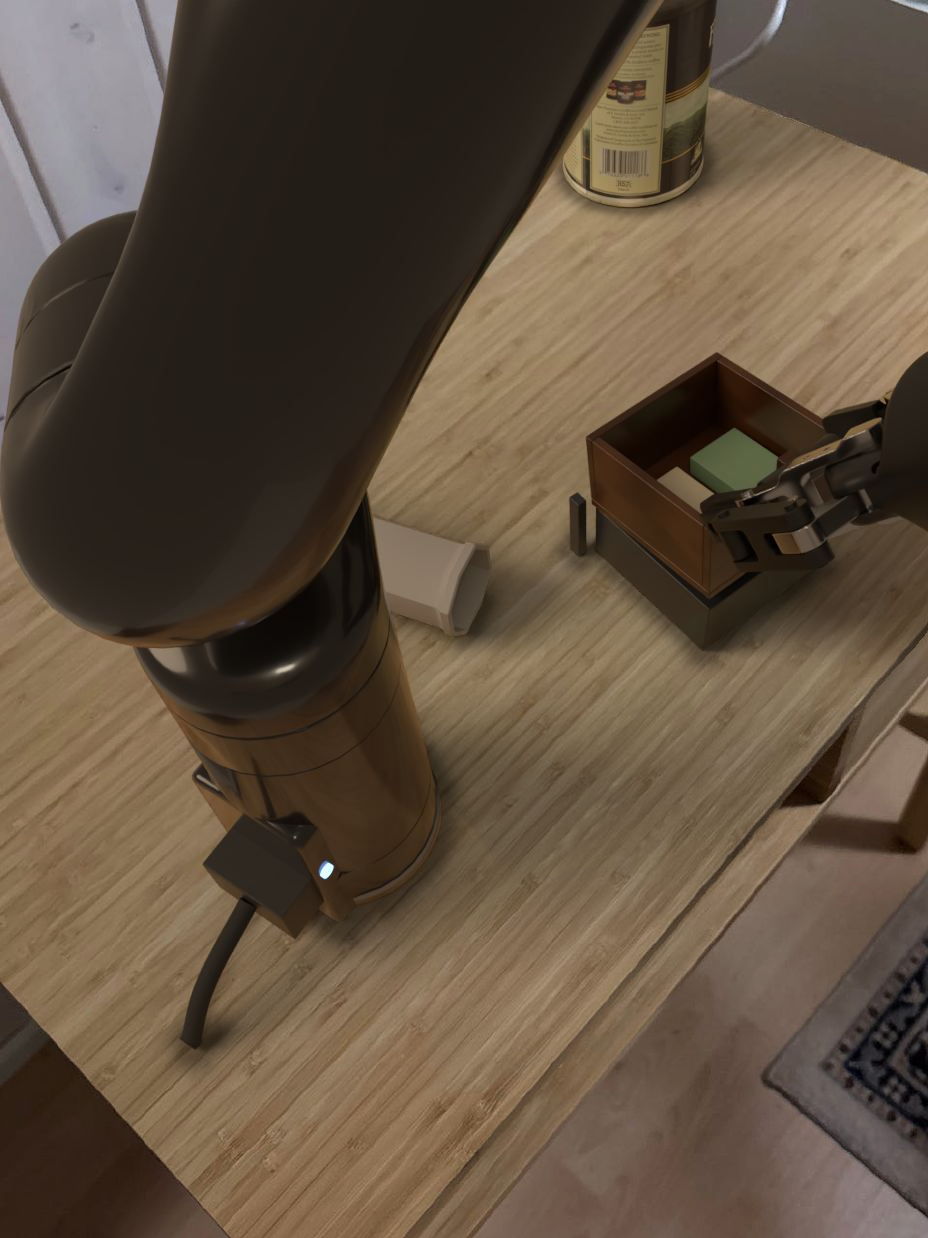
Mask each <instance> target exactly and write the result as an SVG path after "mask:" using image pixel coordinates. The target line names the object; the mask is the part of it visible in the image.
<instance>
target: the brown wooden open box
mask: <svg viewBox="0 0 928 1238" xmlns="http://www.w3.org/2000/svg"><path fill="white" fill-rule="evenodd" d="M822 420H823V417H821V416H819V415H818V414H817V413H814V411H813V412H812V411H811V410H809V409H808V408H806V407H805V406H803V405H801V404H800V403H799V402H797V401H796V400H794V399H792V398H790V397H789V396H787V395H786V394H784V393H783V392H781V391H780V390H778V389H776V388H775V387H774V386H772V385H770V384H769V383H767V382H765V381H764V380H762V379H761V378H759V377H758V376H756V375H754V373H753V374H752V373H751V372H750V371H748V370H746V369H745V368H743V367H742V366H741V365H738V364H737V363H735V362H734V361H732V360H730V359H729V358H728V357H726V356H724V355H722V354H721V353H720V352H718V351H716V352H714V353H713V354H711V355H710V356H708V357H706V358H705V359H704V360H701V361H700V362H699V363H697V364H696V365H694V366H692V367H691V368H690V369H688V370H687V371H684V372H683V373H681V374H680V375H678V376H677V377H675V378H674V379H672V380H670V381H669V382H668V383H666V384H664V385H663V386H662V387H660V388H658V389H657V390H656V391H654V392H652V393H651V394H649V395H648V396H646V397H645V398H643V399H641V400H639V401H638V402H637V403H635V404H634V405H631V406H630V407H629V408H628V409H626V410H624V411H623V412H621V413H620V414H618V415H617V416H615V417H613V418H612V419H611V420H609V421H607V422H606V423H604V424H602V425H601V426H600V427H598V428H596V429H595V430H593V431H592V432H591V433H589V434H587V435H586V436H585V444H586V455H587V456H586V457H587V467H588V479H589V489H590V501H591V505H592V506H593V507H594V508H595V509H596V508H597V509H598V510H600V511H601V512H602V513H603V514H604V515H606V516H607V517H608V518H609V519H611V520H612V521H613V522H614V523H616V524H617V525H618V526H619V527H620V528H622V529H623V530H624V531H625V532H627V533H628V534H629V535H630V536H632V537H633V538H634V539H635V540H637V541H638V542H639V543H640V544H641V545H643V546H644V547H645V548H646V549H648V550H649V551H650V552H651V553H653V554H654V555H655V556H656V557H658V558H659V559H660V560H661V561H662V562H664V563H665V564H666V565H667V566H669V567H670V568H671V569H672V570H674V571H675V572H676V573H677V574H678V575H680V576H681V577H682V578H683V579H685V580H686V581H687V582H688V583H690V584H691V585H692V586H693V587H695V588H696V589H697V590H698V591H699V592H701V593H702V594H703V595H704V596H706V597H707V598H708V599H711V598H712V597H713V596H715V595H716V594H717V593H719V592H720V591H722V590H723V589H724V588H726V587H727V586H729V585H730V584H731V583H733V582H734V581H735V580H737V579H738V578H740V577H741V576H742V575H744V574H745V573H747V572H738V571H737V569H736V568H735V566H734V564H733V560H732V558H731V556H730V554H729V552H728V551H727V549H726V547H725V545H724V543H715V542H714V541H713V539H712V537H711V535H710V534H709V532H708V530H707V528H706V526H705V524H704V523H703V521H702V519H701V517H700V514H701V513H699V512H698V511H697V510H695V509H694V508H693V507H691V506H690V505H689V504H687V503H686V502H685V501H683V500H682V499H681V498H679V497H678V496H677V495H675V494H674V493H673V492H671V491H670V490H669V489H667V488H666V487H665V486H664V485H662V484H661V483H660V482H658V481H657V479H659V478H660V477H662V476H663V475H665V474H666V473H668V472H669V471H671V470H672V469H674V468H675V467H678V468H680V469H681V470H682V471H684V472H685V473H687V474H688V475H689V476H691V477H692V478H693V479H695V480H696V481H697V482H699V483H700V484H702V485H703V486H704V487H706V488H707V489H708V490H710V491H711V492H712V493H714V494H718V493H717V492H715V491H714V490H713V489H711V488H710V487H709V486H707V485H706V484H704V483H703V482H702V481H700V480H699V479H698V478H696V477H695V476H694V475H692V474H691V473H690V457H691V456H693V455H694V454H696V453H697V452H699V451H700V450H702V449H703V448H705V447H706V446H708V445H709V444H711V443H712V442H714V441H715V440H717V439H718V438H720V437H721V436H723V435H724V434H726V433H727V432H729V431H730V430H732V429H733V428H736V429H737V430H739V431H740V432H742V433H743V434H745V435H746V436H748V437H749V438H751V439H752V440H754V441H755V442H757V443H758V444H759V445H761V446H762V447H764V448H765V449H767V450H768V451H770V452H771V453H773V454H774V455H776V456H777V457H779V458H777V465H776V470H775V471H774V472H772V473H771V474H769V475H768V476H767V477H765V478H764V479H762V480H761V481H759V482H758V484H757V486H760V485H762V484H765V483H767V482H770V481H772V480H775V479H777V478H779V475H780V473H781V472H782V471H783V469H784V468H785V467H786V466H787V464H788V463H789V462H790V461H791V460H793V459H795V458H797V457H800V456H802V455H804V454H807V453H809V452H812V451H814V450H817V449H819V448H821V447H824V446H826V445H829V444H831V443H833V442H836V441H838V440H841V438H840V437H839V436H838V435H836V434H832V433H831V434H827V433H826V431H825V430H824V428H823V425H822ZM824 470H825V467H823V468H820V469H818V470H815V471H813V472H810V473H809V474H810V477H811V479H812V481H813V483H814V485H815V487H816V489H817V491H818V493H819V495H820V497H821V498H822V500H823V502H826V501H828V500H830V499H831V498H833V497H834V496H832V494H831V492H830V489H829V487H828V484H827V482H826V479H825V476H824ZM757 486H756V487H757ZM787 500H788V498H787V497H785V496H779V497H777V498H774V499H772V500H769V503H775V502H783V501H787Z"/></svg>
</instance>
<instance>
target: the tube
mask: <svg viewBox="0 0 928 1238" xmlns="http://www.w3.org/2000/svg"><path fill="white" fill-rule="evenodd" d="M372 516H373V522H374V529H375V535H376V542H377V548H378V555H379V561H380V567H381V573H382V579H383V583H384V588H385V592H386V596H387V600H388V603H389V607H390V611H391V613H394V614H396V615H400V616H402V617H406V618H409V619H412V620H415V621H418V622H421V623H424V624H427V625H431V626H433V627H436V628H438V629H441V630H442V631H443V634H444V635H446V636H449V637H460V636H466V635H467V634H468V632H469V630H470V628H471V626H472V624H473V622H474V620H475V618H476V616H477V614H478V612H479V610H480V609H481V606H482V604H483V602H484V598H485V594H486V590H487V587H488V583H489V579H490V576H491V573H492V563H491V562H492V561H491V555H490V547H489V545H488V544H486V543H481V542H476V541H475V542H474V541H473V542H472V541H466V542H463V541H460V540H457V539H454V538H450V537H447V536H443V535H440V534H437V533H435V532H432V531H431V532H430V531H427V530H424V529H421V528H418V527H414V526H411V525H407V524H404V523H401V522H397V521H395V520H391V519H388V518H384V517H381V516H379V515H374V514H372Z"/></svg>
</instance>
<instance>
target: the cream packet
mask: <svg viewBox="0 0 928 1238" xmlns="http://www.w3.org/2000/svg"><path fill="white" fill-rule="evenodd" d="M657 481H658V482H660V483H661V484H662V485H664V486H665V487H666V488H667V489H669V490H670V491H671V492H673V493H674V494H675V495H677V496H678V497H679V498H681V499H682V500H683V501H685V502H686V503H687V504H689V505H690V506H691V507H693V508H694V509H695V510H697V511H698V512H699V513H701V514H702V512H701V509H700V503H701V502H703V501H704V500H705V499H707V498H708V497H710V496H711V495H713V494H714V493H712V492H711V491H710V490H708V489H707V488H706V487H704V486H703V485H702V484H700V483H699V482H697V481H696V480H695V479H693V478H692V477H691V476H689V475H688V474H687V473H685V472H684V471H682V470H681V469H680V468H678V467H675V468H674V469H672V470H671V471H669V472H668V473H666V474H665V475H663V476H662V477H660V478H659V479H657Z"/></svg>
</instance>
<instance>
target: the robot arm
mask: <svg viewBox="0 0 928 1238" xmlns="http://www.w3.org/2000/svg"><path fill="white" fill-rule="evenodd" d="M664 1H665V0H177V2H176V9H175V15H174V23H173V29H172V35H171V36H172V37H171V41H170V48H169V49H170V50H169V55H168V62H167V70H166V76H165V83H164V90H163V95H162V96H163V97H162V103H161V108H160V109H161V110H160V116H159V121H158V126H157V130H156V135H155V141H154V145H153V150H152V154H151V160H150V165H149V169H148V173H147V176H146V180H145V183H144V187H143V190H142V194H141V197H140V201H139V204H138V207H137V209H134V210H130V211H129V210H128V211H125V212H119V213H116V214H113V215H110V216H107V217H104V218H103V217H102V218H101V219H98V220H96V221H94V222H92V223H90V224H88V225H86V226H84V227H82V228H81V229H79V230H77V231H76V232H74V233H73V234H72V235H70V236H69V237H67V238H66V239H65V240H64V241H62V242H61V243H60V245H58V246H57V248H55V249H54V250H53V251H52V253H50V254H49V255H48V256H47V258H46V259H45V260H44V261H43V262H42V264H41V265H40V267H39V268H38V270H37V271H36V273H34V276H33V278H32V279H31V281H30V284H29V286H28V288H27V291H26V293H25V296H24V298H23V302H22V305H21V308H20V312H19V317H18V322H17V327H16V328H17V330H16V335H15V343H14V350H13V357H12V358H13V359H12V366H11V367H12V368H11V376H10V383H9V390H8V396H7V404H6V411H5V419H4V426H3V434H2V441H1V446H0V508H1V517H2V523H3V529H4V531H5V535H6V537H7V540H8V542H9V545H10V548H11V550H12V551H11V552H12V553H13V556H14V560H15V561H16V563H17V565H18V566H19V568H20V570H21V571H22V573H23V574H24V576H25V578H26V579H27V581H28V582H29V584H30V585H31V587H32V588H33V589H34V590H35V591H36V592H37V593H38V595H40V596H41V597H42V599H43V600H44V601H45V602H46V603H47V604H48V605H49V606H50V607H51V609H53V610H55V611H56V612H57V613H58V614H60V615H61V616H63V617H64V618H66V619H67V620H68V621H69V622H71V623H72V624H73V625H75V626H76V627H78V628H80V629H82V630H85V631H86V632H89V633H91V634H93V635H94V636H97V637H99V638H101V639H104V640H105V641H109V642H112V643H115V644H119V645H125V646H129V647H132V649H133V652H134V654H135V657H136V658H137V660H138V663H139V664H140V667H141V668H142V670H143V671H144V674H145V675H146V677H147V678H148V680H149V682H150V683H151V685H152V687H153V688H154V689H155V691H156V693H157V694H158V695H159V697H160V699H161V700H162V702H163V703H164V705H165V706H166V708H167V710H168V711H169V713H170V714H171V716H172V718H173V719H174V720H175V722H176V724H177V725H178V727H179V729H180V731H181V732H182V733H183V735H184V736H185V739H186V740H187V742H188V743H189V745H190V746H191V748H192V750H193V751H194V752H195V754H196V756H197V758H199V760H200V763H199V765H198V766H197V767H196V769H194V771H193V772H192V774H191V781H192V783H194V785H195V786H196V788H197V789H198V791H199V792H200V795H202V797H203V798H204V800H205V802H206V803H207V804H208V806H209V807H210V809H211V811H212V812H213V814H214V815H215V816H216V818H217V820H218V821H219V822H220V824H221V826H222V827H223V828H224V830H225V831H226V834H225V835H224V836H223V837H222V839H221V840H220V841H219V843H218V844H217V845H215V847H214V849H212V850H211V852H210V854H208V856H207V857H206V858H205V859H204V860H203V862H202V866H203V868H204V869H205V870H206V871H207V873H208V874H209V875H210V876H211V878H212V879H213V881H214V882H215V883H216V885H217V886H218V887H219V888H220V889H222V890H223V891H224V892H226V893H227V894H229V895H230V896H232V897H233V898H234V899H236V900H237V902H236V903H235V904H236V905H235V906H234V907H233V909H232V911H231V913H230V915H229V917H228V919H227V920H226V922H225V924H224V926H223V928H221V929H222V930H221V931H220V933H219V935H218V936H217V938H216V940H215V941H214V944H213V946H212V947H211V948H210V951H209V953H208V955H207V957H206V959H205V961H204V963H203V965H202V967H201V969H200V972H199V973H198V976H197V978H196V981H195V983H194V985H193V988H192V991H191V995H190V998H189V1001H188V1004H187V1008H186V1013H185V1018H184V1022H183V1028H182V1032H181V1035H180V1037H179V1040H180V1041H181V1042H182V1043H184V1044H185V1045H187V1046H188V1047H190V1048H191V1049H193V1050H194V1051H196V1050H197V1049H198V1048H199V1046H200V1043H201V1040H202V1037H203V1033H204V1028H205V1024H206V1019H207V1015H208V1012H209V1011H208V1010H209V1007H210V1003H211V1000H212V997H213V995H214V992H215V990H216V987H217V985H218V983H219V980H220V978H221V976H222V973H224V969H226V966H227V964H228V962H229V960H230V958H231V957H232V955H233V953H234V951H235V949H236V947H237V945H238V944H239V942H240V940H241V939H242V937H243V935H244V933H245V931H246V929H247V927H248V926H249V924H250V922H251V920H252V918H253V917H254V915H255V914H258V915H259V916H261V918H262V919H265V920H266V921H267V922H269V923H271V924H272V925H274V926H275V927H276V928H278V929H279V930H281V931H282V932H284V933H285V934H287V935H288V936H290V937H291V938H292V939H294V940H296V939H298V937H299V936H300V934H301V933H302V931H303V930H304V929H305V927H307V925H308V924H309V923H310V921H311V920H312V918H313V917H314V915H315V914H316V913H317V912H318V911H320V912H321V913H323V914H324V915H326V916H327V917H329V918H331V919H332V920H333V921H335V922H338V923H340V922H343V921H344V920H346V918H347V917H348V915H349V914H350V913H351V911H352V910H353V909H354V908H355V907H356V906H358V905H363V904H367V903H371V902H373V901H377V900H378V899H381V898H383V897H385V896H387V895H389V894H391V893H392V892H394V891H396V890H397V889H399V888H400V887H401V886H403V885H404V884H406V883H407V882H408V881H409V880H410V879H412V877H413V876H414V875H415V874H416V873H417V872H418V871H419V870H420V868H421V867H422V866H423V865H424V863H425V862H426V861H427V859H428V858H429V856H430V854H431V853H432V850H433V848H434V846H435V844H436V842H437V838H438V835H439V832H440V827H441V822H442V799H441V793H440V789H439V785H438V781H437V778H436V776H435V772H434V771H433V769H432V767H431V762H430V758H429V755H428V751H427V748H426V747H427V746H426V743H425V740H424V735H423V732H422V728H421V724H420V720H419V717H418V712H417V708H416V705H415V701H414V697H413V692H412V690H411V685H410V681H409V677H408V674H407V669H406V665H405V661H404V659H403V655H402V650H401V647H400V643H399V642H400V641H399V639H398V635H397V630H396V627H395V623H394V619H393V614H392V612H391V611H390V607H389V603H388V600H387V596H386V592H385V588H384V583H383V579H382V573H381V567H380V561H379V555H378V548H377V542H376V535H375V529H374V522H373V516H372V515H373V511H372V507H371V505H372V504H371V501H370V494H369V492H368V488H369V486H370V484H371V483H372V480H373V478H374V476H375V474H376V472H377V470H378V467H379V466H380V464H381V462H382V460H383V458H384V456H385V453H386V452H387V450H388V448H389V446H390V444H391V442H392V440H393V438H394V436H395V434H396V432H397V430H398V428H399V426H400V425H401V422H402V420H403V418H404V416H405V414H406V412H407V411H408V409H409V406H410V405H411V402H412V400H413V398H414V396H415V394H416V393H417V391H418V389H419V386H420V384H421V383H422V381H423V380H424V377H425V375H426V373H427V371H428V370H429V368H430V367H431V364H432V362H433V360H434V359H435V357H436V355H437V353H438V351H439V349H440V347H441V345H442V343H443V342H444V340H445V339H446V337H447V335H448V334H449V332H450V330H451V328H452V327H453V325H454V323H455V321H456V320H457V318H458V316H459V314H460V313H461V312H462V309H463V307H464V306H465V305H466V303H467V302H468V299H469V298H470V296H471V295H472V293H473V292H474V291H475V289H476V288H477V286H478V284H479V283H480V282H481V280H482V279H483V277H484V275H485V274H486V272H487V271H488V269H489V267H491V265H492V264H493V262H494V261H495V259H496V257H498V255H499V253H500V252H501V250H502V249H503V248H504V246H505V245H506V243H507V241H509V239H510V237H511V236H512V235H513V233H514V231H515V230H516V229H517V227H518V226H519V224H521V221H522V220H523V219H524V217H525V216H526V215H527V213H528V212H529V209H530V208H531V207H532V205H533V203H534V202H535V200H536V199H537V197H538V196H539V195H540V193H541V191H542V190H543V189H544V187H545V185H546V184H547V182H548V181H549V179H550V178H551V176H552V175H553V174H554V172H555V170H556V168H557V167H558V166H559V164H560V163H561V161H562V160H563V158H564V155H565V153H566V152H567V150H568V149H569V147H570V146H571V144H572V142H573V141H574V139H575V138H576V136H577V134H578V133H579V131H580V130H581V128H582V127H583V125H584V124H585V122H586V121H587V119H588V117H589V116H590V114H591V113H592V111H593V110H594V108H595V107H596V105H597V103H598V102H599V100H600V99H601V97H602V96H603V94H604V93H605V91H606V90H607V88H608V86H609V85H610V83H611V82H612V80H613V79H614V77H615V76H616V74H617V73H618V71H619V69H620V68H621V66H622V65H623V63H624V62H625V60H626V59H627V57H628V56H629V54H630V52H631V51H632V49H633V48H634V46H635V45H636V43H637V42H638V40H639V38H640V37H641V35H642V34H643V32H644V31H645V29H646V28H647V26H648V25H649V23H650V21H651V20H652V18H653V17H654V15H655V14H656V13H657V11H658V10H659V8H660V7H661V5H662V4H663V2H664ZM822 419H823V420H822V425H823V428H824V430H825V431H826V433H827V434H831V433H832V434H836V435H838V436H839V437H840V438H841V440H838V441H836V442H833V443H831V444H829V445H826V446H824V447H821V448H819V449H817V450H814V451H812V452H809V453H807V454H804V455H802V456H800V457H797V458H795V459H793V460H791V461H790V462H789V463H788V464H787V466H786V467H785V468H784V469H783V471H782V472H781V473H780V475H779V478H777V479H775V480H772V481H770V482H767V483H765V484H762V485H760V486H757V487H755V488H748V489H743V490H736V491H730V492H724V493H718V494H713V495H711V496H710V497H708V498H707V499H705V500H704V501H703V502H701V503H700V509H701V512H702V514H700V517H701V519H702V521H703V523H704V524H705V526H706V528H707V530H708V532H709V534H710V535H711V537H712V539H713V541H714V542H715V543H724V545H725V547H726V549H727V551H728V552H729V554H730V556H731V558H732V560H733V564H734V566H735V568H736V569H737V571H738V572H771V571H809V570H812V571H814V570H819V569H822V568H824V567H826V566H827V565H828V564H829V563H830V562H832V561H833V560H834V559H835V558H836V553H835V551H834V550H833V548H832V546H831V543H830V542H829V540H833V539H834V538H837V537H840V536H843V535H846V534H849V533H852V532H854V531H857V530H860V529H863V528H866V527H868V526H871V525H875V524H876V525H880V526H890V525H892V524H895V523H898V522H901V521H903V520H906V521H908V522H909V523H911V524H913V525H915V526H917V527H919V528H920V529H922V530H924V531H925V532H927V533H928V350H927V351H925V352H924V353H923V354H921V355H920V356H919V357H917V358H916V359H915V360H914V361H913V362H912V363H911V364H910V365H909V366H908V368H906V370H904V372H903V374H901V376H900V377H899V380H898V381H897V382H896V384H895V386H894V387H892V388H889V389H888V390H887V391H885V394H883V395H881V396H880V397H879V398H878V399H875V400H871V401H867V402H862V403H859V404H854V405H850V406H846V407H842V408H838V409H835V410H833V411H832V412H830V413H829V414H828V415H826V416H825V417H822ZM823 467H825V470H824V476H825V479H826V482H827V484H828V487H829V489H830V492H831V494H832V496H834V497H833V498H831V499H830V500H828V501H826V502H823V500H822V498H821V497H820V495H819V493H818V491H817V489H816V487H815V485H814V483H813V481H812V479H811V477H810V474H809V473H810V472H813V471H815V470H818V469H820V468H823ZM779 496H785V497H787V498H788V500H787V501H783V502H775V503H769V500H772V499H774V498H777V497H779Z"/></svg>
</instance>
